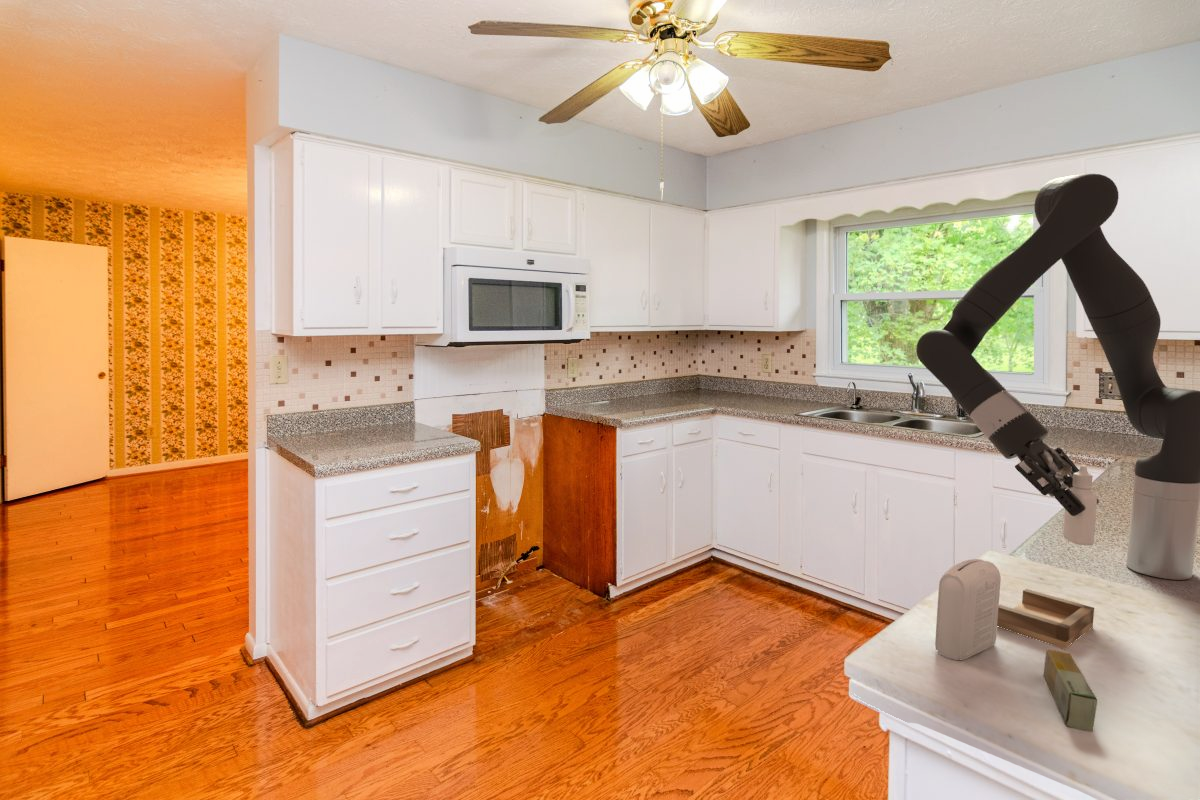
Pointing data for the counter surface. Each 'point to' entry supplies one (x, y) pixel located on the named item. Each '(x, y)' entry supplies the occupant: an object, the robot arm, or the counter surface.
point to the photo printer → (967, 609)
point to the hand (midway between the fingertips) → (1086, 509)
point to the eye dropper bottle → (1082, 524)
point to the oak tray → (1047, 618)
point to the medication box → (1070, 690)
